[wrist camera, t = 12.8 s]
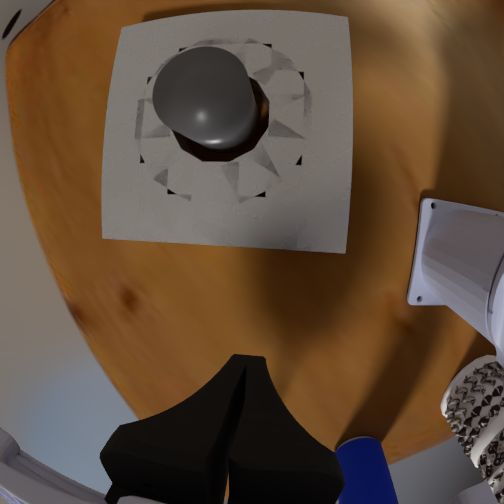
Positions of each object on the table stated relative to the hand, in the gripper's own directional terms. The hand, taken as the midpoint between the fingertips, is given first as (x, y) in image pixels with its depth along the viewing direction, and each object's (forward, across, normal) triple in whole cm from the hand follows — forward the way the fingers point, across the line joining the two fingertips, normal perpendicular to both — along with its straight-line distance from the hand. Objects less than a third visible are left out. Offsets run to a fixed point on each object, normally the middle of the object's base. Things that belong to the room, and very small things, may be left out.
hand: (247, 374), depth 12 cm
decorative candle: (+10, -23, +10) cm, 27 cm away
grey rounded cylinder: (+9, +3, -12) cm, 16 cm away
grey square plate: (+9, +3, -12) cm, 16 cm away
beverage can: (+10, -11, +17) cm, 22 cm away
